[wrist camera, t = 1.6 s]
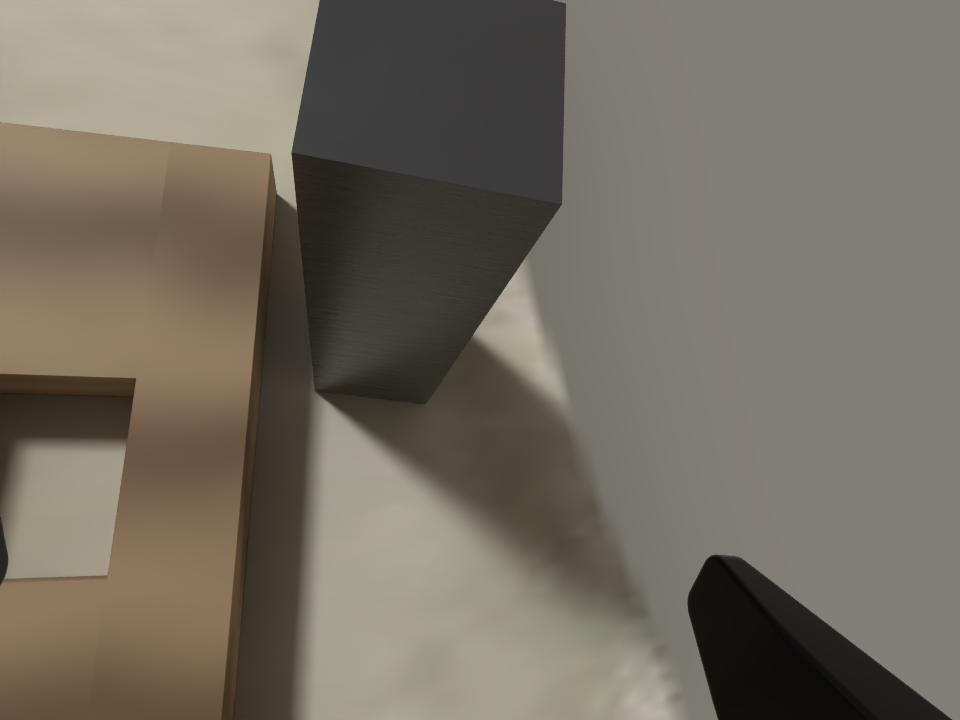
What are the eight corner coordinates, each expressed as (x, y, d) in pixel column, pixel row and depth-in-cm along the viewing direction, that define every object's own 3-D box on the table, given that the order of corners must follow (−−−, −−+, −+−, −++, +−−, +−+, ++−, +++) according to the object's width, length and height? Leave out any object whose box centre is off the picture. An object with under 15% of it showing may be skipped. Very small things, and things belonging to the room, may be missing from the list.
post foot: (220, 879, 17) (202, 933, 15) (-328, 958, 14) (-457, 1041, 12) (276, 192, 23) (270, 153, 21) (-94, 155, 20) (-148, 105, 18)
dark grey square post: (425, 403, 22) (561, 203, 9) (314, 391, 21) (291, 152, 8) (434, 304, 23) (565, 3, 10) (330, 288, 23) (331, -59, 10)
